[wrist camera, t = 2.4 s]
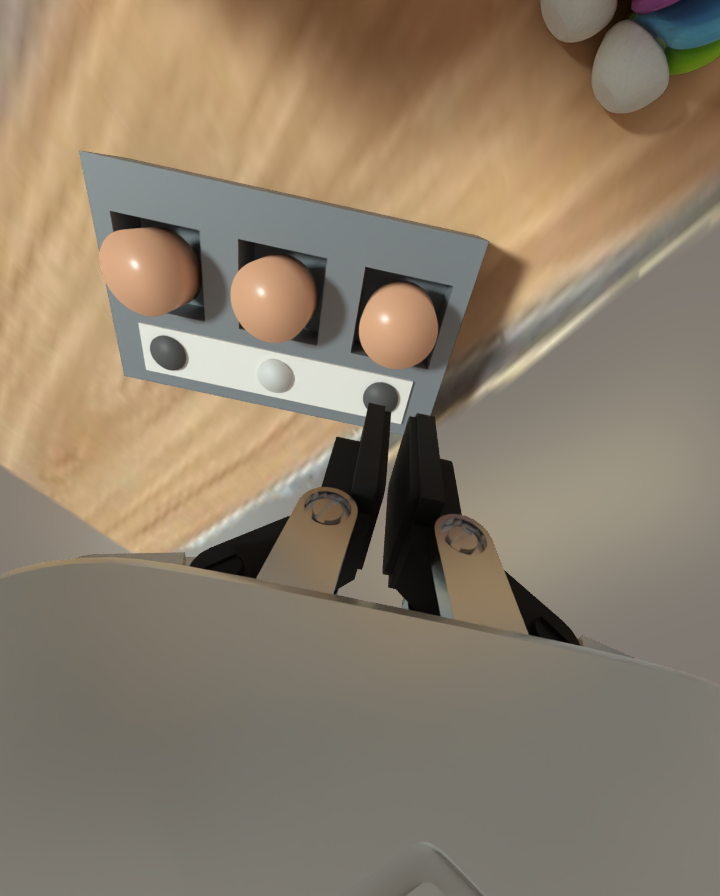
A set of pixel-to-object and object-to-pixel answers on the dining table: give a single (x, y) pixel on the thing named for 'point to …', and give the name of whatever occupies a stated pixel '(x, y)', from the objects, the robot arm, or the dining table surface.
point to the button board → (326, 256)
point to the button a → (150, 269)
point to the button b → (274, 297)
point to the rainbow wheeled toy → (638, 44)
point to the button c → (398, 325)
